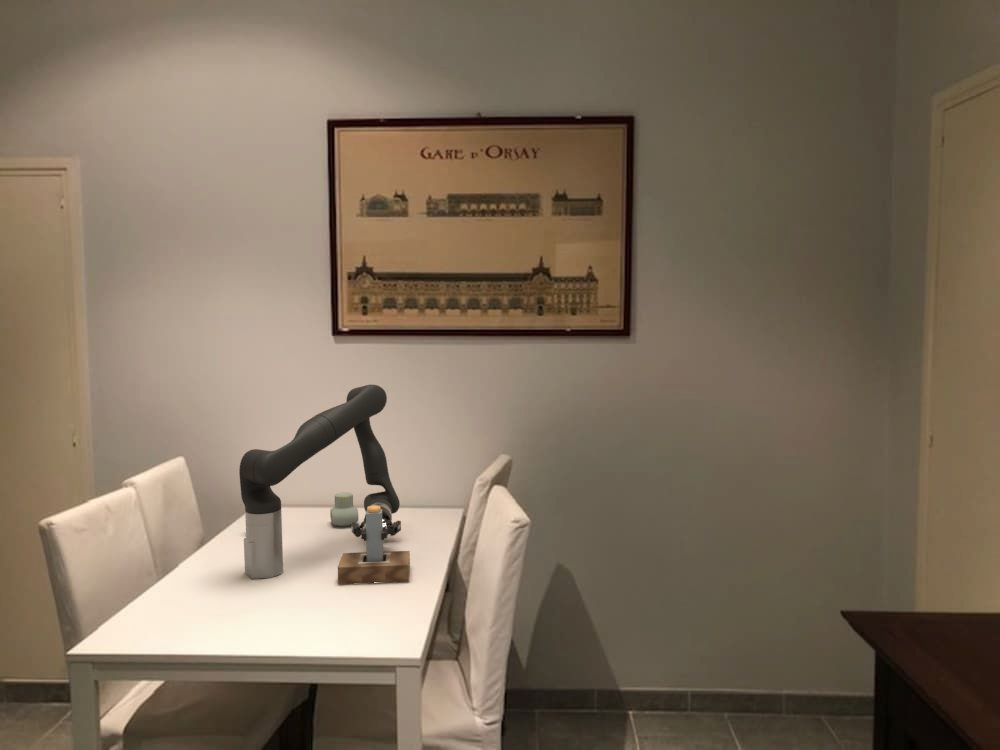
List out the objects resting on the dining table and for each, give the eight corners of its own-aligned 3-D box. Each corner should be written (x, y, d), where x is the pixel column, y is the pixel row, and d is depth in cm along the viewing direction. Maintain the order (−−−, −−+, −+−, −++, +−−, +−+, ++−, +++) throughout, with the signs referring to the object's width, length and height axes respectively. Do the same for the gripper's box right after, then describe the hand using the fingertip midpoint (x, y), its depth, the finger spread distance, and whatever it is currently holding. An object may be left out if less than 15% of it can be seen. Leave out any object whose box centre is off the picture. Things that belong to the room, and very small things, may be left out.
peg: (367, 566, 209) (365, 509, 208) (368, 561, 213) (366, 505, 212) (382, 565, 210) (381, 508, 208) (383, 560, 214) (381, 504, 212)
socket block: (338, 584, 205) (337, 566, 204) (343, 569, 217) (342, 552, 216) (408, 582, 206) (408, 564, 206) (409, 566, 218) (409, 550, 218)
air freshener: (330, 521, 265) (329, 491, 264) (355, 518, 268) (354, 489, 267) (333, 529, 255) (332, 499, 254) (359, 527, 257) (358, 497, 256)
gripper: (352, 506, 224) (345, 523, 207) (403, 504, 225) (401, 521, 208) (352, 532, 225) (346, 552, 208) (403, 530, 226) (401, 549, 209)
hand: (373, 536), depth 208 cm, fingers closed on peg, 4 cm apart
